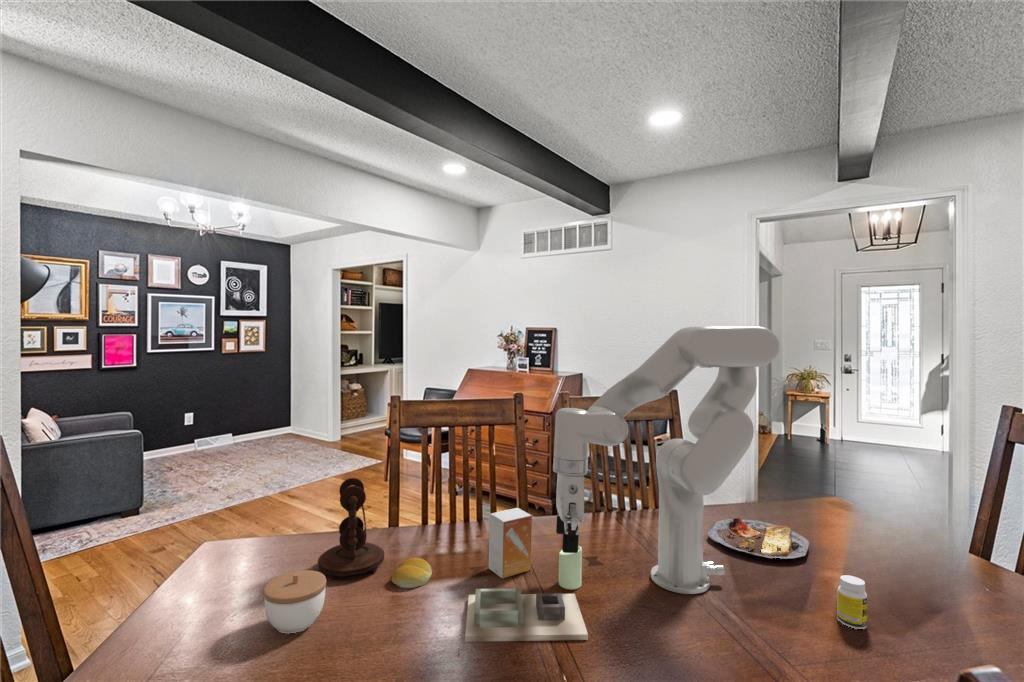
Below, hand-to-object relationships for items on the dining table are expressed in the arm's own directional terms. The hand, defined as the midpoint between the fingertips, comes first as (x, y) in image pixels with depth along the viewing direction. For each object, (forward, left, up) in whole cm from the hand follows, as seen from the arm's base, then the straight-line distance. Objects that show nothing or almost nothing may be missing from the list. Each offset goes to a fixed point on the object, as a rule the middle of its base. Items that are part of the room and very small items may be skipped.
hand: (566, 542), depth 108 cm
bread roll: (+34, -3, -10) cm, 36 cm away
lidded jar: (+53, +14, -10) cm, 56 cm away
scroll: (+49, -9, -10) cm, 51 cm away
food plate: (-55, -21, -10) cm, 60 cm away
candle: (-1, 0, -9) cm, 9 cm away
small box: (+12, -7, -9) cm, 17 cm away
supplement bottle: (-53, +16, -9) cm, 56 cm away
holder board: (+10, +13, -9) cm, 19 cm away
